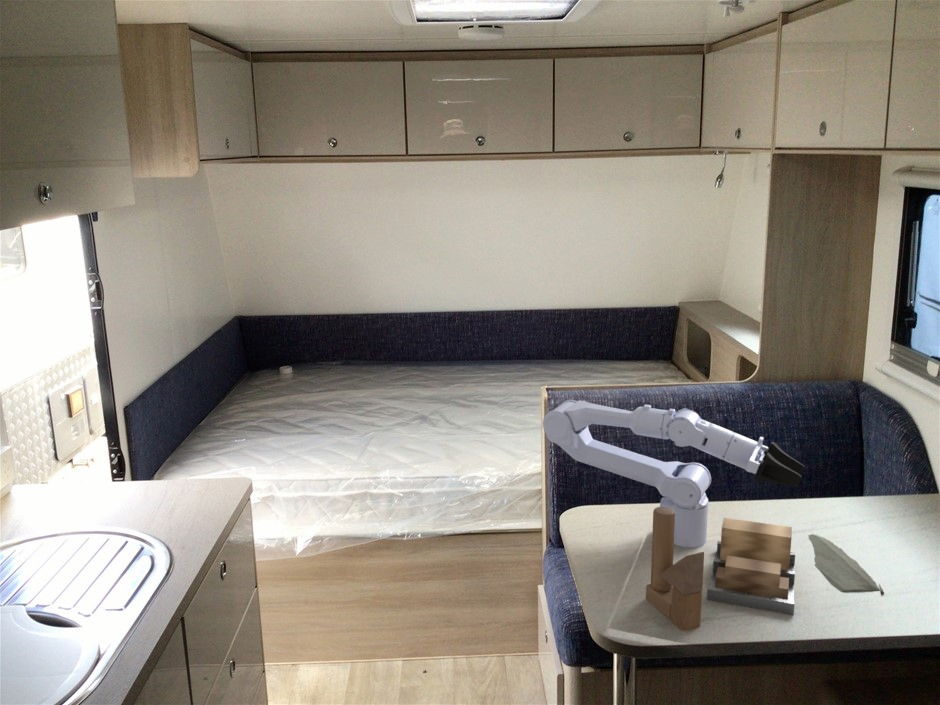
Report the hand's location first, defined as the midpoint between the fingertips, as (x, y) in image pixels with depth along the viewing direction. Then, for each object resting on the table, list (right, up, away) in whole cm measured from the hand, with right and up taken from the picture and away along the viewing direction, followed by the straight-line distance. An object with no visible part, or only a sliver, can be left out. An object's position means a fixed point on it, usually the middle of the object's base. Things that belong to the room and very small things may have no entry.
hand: (801, 476), depth 146 cm
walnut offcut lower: (-11, -19, -6) cm, 23 cm away
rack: (-10, -19, -2) cm, 22 cm away
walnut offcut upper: (-11, -17, -7) cm, 21 cm away
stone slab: (+7, -18, +4) cm, 20 cm away
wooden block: (-27, -22, -12) cm, 37 cm away
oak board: (-8, -17, +2) cm, 19 cm away
